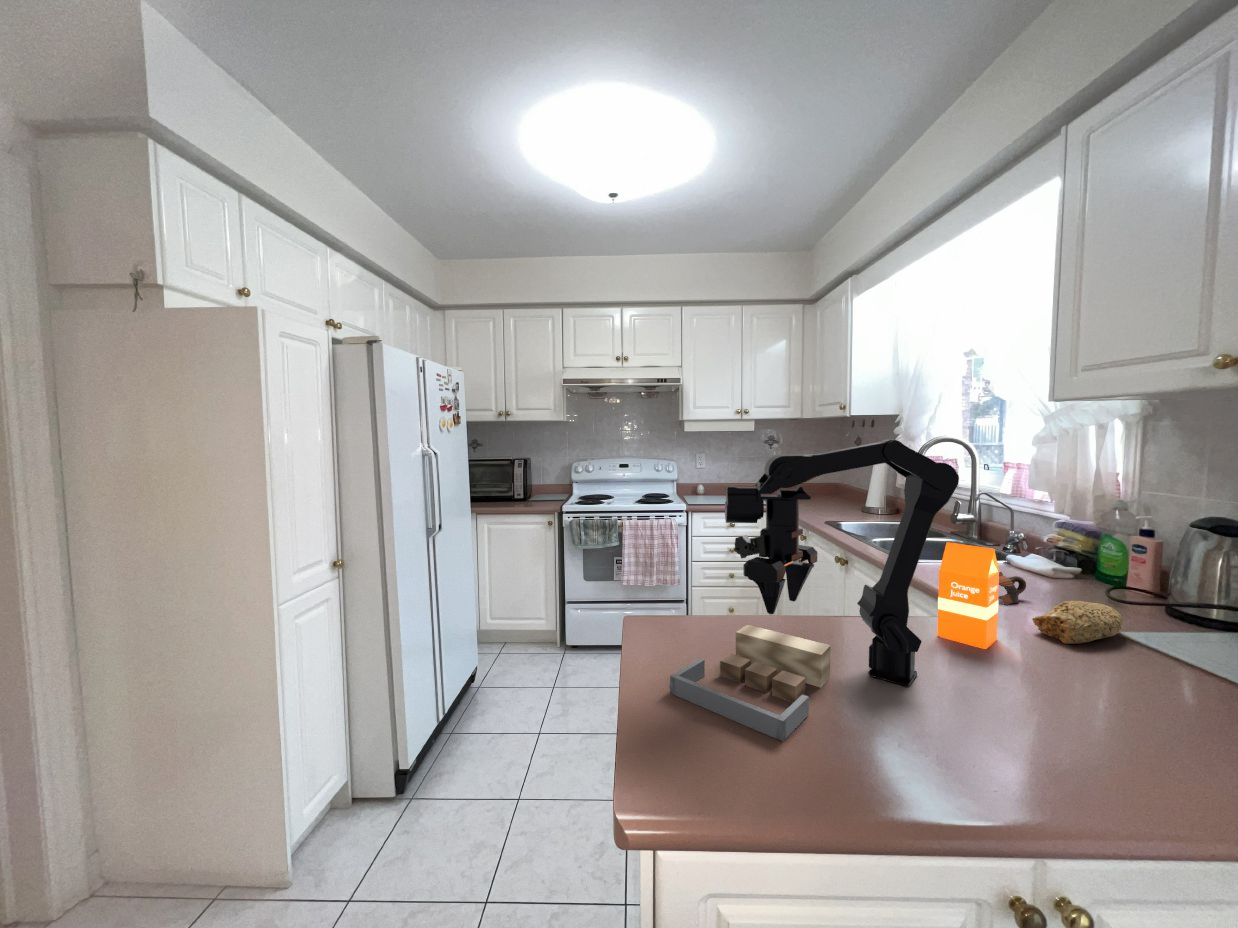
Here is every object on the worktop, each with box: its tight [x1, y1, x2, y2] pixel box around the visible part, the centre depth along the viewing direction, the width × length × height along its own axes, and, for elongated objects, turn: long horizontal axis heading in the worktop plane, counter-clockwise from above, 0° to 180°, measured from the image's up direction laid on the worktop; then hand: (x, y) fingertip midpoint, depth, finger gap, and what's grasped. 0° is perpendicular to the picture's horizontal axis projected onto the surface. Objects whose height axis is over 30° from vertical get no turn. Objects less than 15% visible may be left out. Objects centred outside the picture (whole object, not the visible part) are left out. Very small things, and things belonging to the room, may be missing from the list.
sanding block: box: [735, 624, 832, 689], centre depth 92 cm, size 16×5×6 cm, turn 50°
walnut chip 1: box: [719, 653, 751, 684], centre depth 90 cm, size 4×4×3 cm
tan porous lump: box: [1031, 600, 1123, 645], centre depth 108 cm, size 13×8×20 cm
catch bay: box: [669, 658, 810, 742], centre depth 80 cm, size 20×9×3 cm, turn 47°
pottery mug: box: [999, 571, 1027, 605], centre depth 132 cm, size 12×10×8 cm
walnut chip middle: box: [744, 662, 777, 694], centre depth 87 cm, size 4×4×3 cm
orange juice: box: [937, 541, 1000, 650], centre depth 106 cm, size 8×9×20 cm
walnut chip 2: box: [771, 670, 806, 704], centre depth 83 cm, size 4×4×3 cm
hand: (781, 607), depth 92 cm, fingers open, 9 cm apart
